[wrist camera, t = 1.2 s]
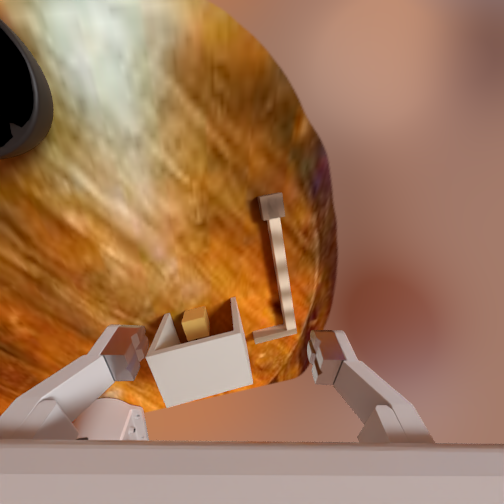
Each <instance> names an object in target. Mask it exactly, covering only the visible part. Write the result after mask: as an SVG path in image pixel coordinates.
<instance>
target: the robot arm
mask: <svg viewBox="0 0 504 504" xmlns="http://www.w3.org/2000/svg"><path fill="white" fill-rule="evenodd" d="M145 332H146V330H145V327H144V326H135V325H112V324H111V325H109V326H108V327H107V328H106V329H105V331H104V332H103V333H102V335H101V336H100V337H99V339H98V340H97V342H96V343H95V344H94V346H93V347H92V348H91V350H90V351H89V353H88V354H87V355H83V356H81V357H79V358H78V359H76V360H75V361H73V362H72V363H70V364H69V365H67V366H66V367H64V368H62V369H61V370H59V371H58V372H56V373H55V374H53V375H52V376H50V377H49V378H47V379H45V380H44V381H42V382H41V383H39V384H38V385H36V386H35V387H33V388H31V389H30V390H28V391H27V392H25V393H24V394H22V395H21V396H19V397H18V398H16V399H15V400H14V401H13V403H12V404H11V405H10V406H9V407H8V408H7V409H6V411H5V412H4V413H3V414H2V415H1V416H0V504H504V444H457V443H454V444H453V443H435V441H434V440H433V438H432V436H431V435H430V433H429V431H428V430H427V428H426V427H425V425H424V423H423V421H422V420H421V418H420V416H419V414H418V413H417V411H416V409H415V408H414V406H413V405H412V404H411V403H410V402H409V401H407V400H406V399H405V398H404V397H403V396H402V395H401V394H399V393H398V392H397V391H396V390H395V389H393V388H392V387H391V386H390V385H389V384H388V383H386V382H385V381H384V380H383V379H382V378H381V377H379V376H378V375H377V374H376V373H375V372H374V371H372V370H371V369H370V368H369V367H368V366H366V365H365V364H364V363H363V362H362V361H358V359H357V358H356V355H355V353H354V351H353V349H352V347H351V345H350V343H349V341H348V339H347V336H346V334H345V333H344V332H343V331H332V330H312V331H311V334H310V337H311V340H310V341H308V346H307V353H308V358H309V362H310V363H311V364H312V365H313V367H312V373H313V377H314V381H315V384H322V385H333V386H334V388H335V389H336V390H337V391H338V393H339V394H340V395H341V396H342V398H343V399H344V400H345V401H346V402H347V404H348V405H349V406H350V407H351V408H352V410H353V411H354V412H355V414H357V416H358V417H359V418H360V420H361V421H362V422H363V423H364V427H363V428H362V430H361V432H360V433H359V435H358V440H359V443H356V442H354V443H353V442H351V443H350V442H253V441H149V439H148V433H147V428H146V422H145V417H144V411H143V408H142V407H140V406H134V405H130V404H127V403H126V402H124V401H121V400H118V399H113V398H101V399H97V398H98V397H99V396H100V395H102V394H103V393H104V392H105V391H106V390H107V389H108V388H109V387H110V386H111V385H112V384H113V383H114V381H134V379H135V377H136V375H137V373H138V371H139V369H140V363H139V362H140V361H141V360H142V359H144V358H145V356H146V353H147V350H148V346H149V341H148V337H146V336H145V335H144V334H145ZM75 419H76V420H75ZM74 420H75V421H74ZM73 421H74V422H73ZM72 422H73V423H72Z"/></svg>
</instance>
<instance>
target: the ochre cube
mask: <svg viewBox="0 0 504 504" xmlns="http://www.w3.org/2000/svg"><path fill="white" fill-rule="evenodd" d="M181 323H182V326H183V329H184V332H185V335H186V338H187V341H190V340H194V339H198V338H202V337H205V336H209V331H210V321H209V318H208V314H207V311H206V308H205V306H203V307H199V308H195V309H191V310H187V311H185V312H184V315H183V319H182V322H181Z"/></svg>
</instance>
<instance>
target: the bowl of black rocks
mask: <svg viewBox="0 0 504 504" xmlns="http://www.w3.org/2000/svg"><path fill="white" fill-rule="evenodd" d="M52 120H53V101H52V96H51V92H50V88H49V85H48V83H47V80H46V78H45V76H44V74H43V72H42V70H41V68H40V66H39V65H38V63H37V61H36V60H35V58H34V57H33V55H32V54H31V53H30V51H29V50H28V48H27V47H26V46H25V45H24V43H23V42H22V41H21V40H20V39H19V38H18V36H17V35H16V34H15V33H14V32H13V31H12V30H11V29H10V28H9V27H8V26H7V25H6V24H5V23H4V22H3V21H2V20H1V19H0V159H5V158H10V157H14V156H17V155H20V154H23V153H25V152H27V151H29V150H31V149H33V148H34V147H36V146H37V145H38V144H39V143H40V142H41V141H42V140H43V139H44V138H45V136H46V135H47V133H48V131H49V129H50V127H51V124H52Z"/></svg>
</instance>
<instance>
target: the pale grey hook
mask: <svg viewBox="0 0 504 504" xmlns="http://www.w3.org/2000/svg"><path fill="white" fill-rule="evenodd" d="M257 198H258V204H259V209H260V215H261V219H262V220H263V221H265V220H267V225H268V231H269V237H270V243H271V249H272V255H273V261H274V267H275V273H276V279H277V285H278V291H279V297H280V303H281V309H282V315H283V321H284V324H281V325H277V326H273V327H269V328H265V329H261V330H257V331H253V336H254V340H255V344H258V343H262V342H266V341H270V340H273V339H277V338H281V337H285V336H289V335H293V334H297V330H296V324H295V317H294V310H293V303H292V296H291V290H290V283H289V276H288V269H287V263H286V256H285V249H284V242H283V235H282V229H281V222H280V217H284V216H285V211H284V204H283V197H282V193H274V194H269V195H264V196H259V197H257Z"/></svg>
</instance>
